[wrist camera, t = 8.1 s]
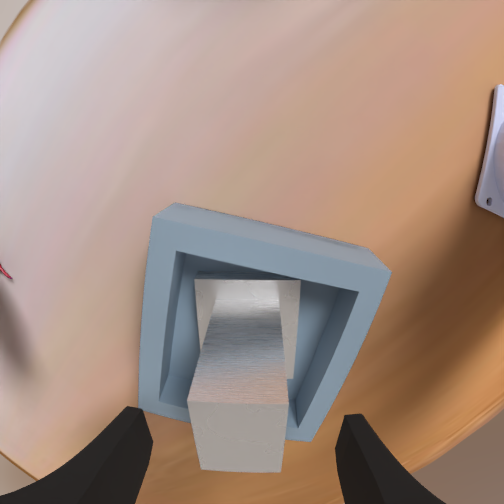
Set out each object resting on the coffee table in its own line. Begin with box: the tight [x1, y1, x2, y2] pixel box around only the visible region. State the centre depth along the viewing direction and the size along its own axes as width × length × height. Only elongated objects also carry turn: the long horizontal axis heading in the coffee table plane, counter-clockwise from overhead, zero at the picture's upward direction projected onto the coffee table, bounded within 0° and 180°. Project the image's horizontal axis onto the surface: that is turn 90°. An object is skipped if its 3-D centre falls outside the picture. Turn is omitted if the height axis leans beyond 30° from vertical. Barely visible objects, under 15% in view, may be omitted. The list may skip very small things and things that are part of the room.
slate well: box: [138, 203, 392, 442], centre depth 16 cm, size 10×11×4 cm
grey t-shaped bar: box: [187, 271, 301, 473], centre depth 13 cm, size 5×6×8 cm
